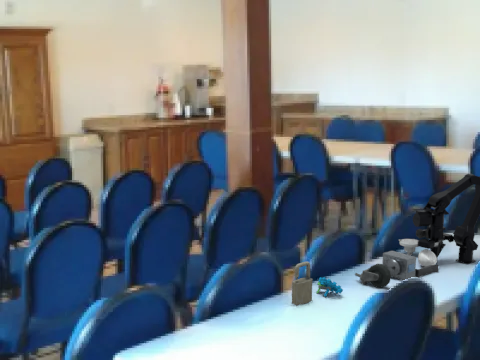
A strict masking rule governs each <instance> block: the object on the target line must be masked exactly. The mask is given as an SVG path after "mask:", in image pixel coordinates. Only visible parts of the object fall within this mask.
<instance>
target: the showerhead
mask: <svg viewBox="0 0 480 360" xmlns="http://www.w3.org/2000/svg"><path fill="white" fill-rule="evenodd" d="M398 241H399V245H400V246H402V247H404V251H405V252H406V254H407V255H410V256H411V255H412V256H413V253H415V252H416V248H418V247H420V246H417V245H418V241H419V239H415V238H402V239H398Z"/></svg>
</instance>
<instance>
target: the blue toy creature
mask: <svg viewBox="0 0 480 360" xmlns="http://www.w3.org/2000/svg"><path fill="white" fill-rule="evenodd" d="M317 281H318V283H316V285H317V288H318V289H317V291H316V294H317V293H318V294H319V293H320V291H321V290H324V291H325V292H324V294H323V297H324V296H325V297H324V298H327V295H328V294H329V292H331V291H332V293H335V294H342V292H343V291H344V290H343V288H342V286H341V285H339V284H337V282H336V281H333V282H332V280H331V279H330V278H326V277H321V276H320V277H319V279H318V280H317Z"/></svg>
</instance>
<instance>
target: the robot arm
mask: <svg viewBox="0 0 480 360" xmlns="http://www.w3.org/2000/svg"><path fill="white" fill-rule="evenodd" d="M473 185H474V191H475V194H474V197H473V198H472V201H471V204H470V206H469V208H468V210H467V213H466V216H465V219H464V220H463V223H462V224H461V225H456V227H455V229H454V232H453V233H452V234H450V233H447V232H446V233H445V232H444V231H445V230H446V229H447V228H446V227H445V226H444V225H445V216H446V215H449V214H450V213H449V212H448V211H447V208H448V207H449V206H450V205H451V203H452V201H453V200H455V198H457V197H458V196H459V195H460V194H462V193H464V192H465V191H466V190H467V189H468V188H470V187H471V186H473ZM479 217H480V176H478V175H475V174H472V173H467V174H465V175H464V177H462V178H461V179H459V180H458V181H457V182H455V183H453V184H452V185H450V187H448V188H447V189H445V190H443V191H440V192H436V193H434V194H433V195H431V196H430V197H429V199H428V202H427V203H426V204H425V206H424V207H423V210H415V213H414V215H413V216H412V223H413V225H414V227H416V228H418V227H419V228H418V229H416V230H415V236H416V237H417V238H418V245H417V246H419V247H420V248H423V249H428V250H430V251H432V252H433V253H434V254H435V255H436V257H437V259H438V258H439V256H440V254H441V252H442V251H443V250H444V247H446V245H447V244H446V243H444V241H448V242H449V243H453V242H455V245H456V246H457V247H459V249H458V258H456V259H455V262H458V263H462V264H466V265H469V264H472V263H475V262H476V261H477V260H476V259H474V252H475V251H477V250H478V247H479V244H478V243H477V242H476V241H475V240H474V239H475V236H476V234H475V233H476V232H475V227H476V224H477V222H478V219H479ZM420 227H426V229H422V228H420Z"/></svg>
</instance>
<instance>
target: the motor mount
mask: <svg viewBox="0 0 480 360" xmlns="http://www.w3.org/2000/svg"><path fill="white" fill-rule="evenodd" d="M416 263H417V257H416V256H413V255H412V256H410V255H407V253H402V252H398V251H395V250H389V251H385V252H382V264H383V265H385V266H386V267H387V268H388V269H389V271H390V273H391V278H394V279H397V280H400V281H403V280H405V279H408V278H411V277H415V278H421V277H424V276H427V275H429V274H433V273H439V264H435V265H429V266H426V267H424V266H422V267H420V268H417V267H416V266H417V264H416Z"/></svg>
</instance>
